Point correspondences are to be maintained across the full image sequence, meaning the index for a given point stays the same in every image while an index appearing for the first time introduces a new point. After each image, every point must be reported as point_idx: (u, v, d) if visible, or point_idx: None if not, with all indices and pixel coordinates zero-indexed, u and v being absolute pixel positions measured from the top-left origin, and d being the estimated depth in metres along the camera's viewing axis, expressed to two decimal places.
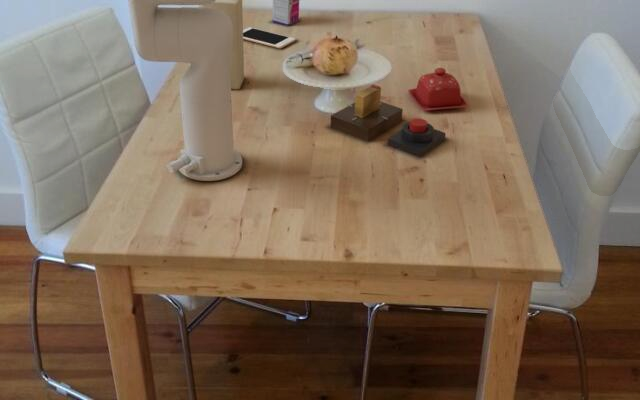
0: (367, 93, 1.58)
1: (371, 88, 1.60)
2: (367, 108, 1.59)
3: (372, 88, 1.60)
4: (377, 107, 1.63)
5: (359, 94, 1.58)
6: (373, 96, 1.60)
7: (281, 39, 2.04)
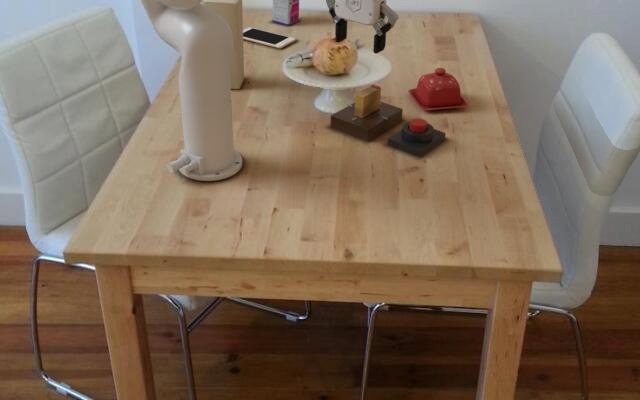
0: (367, 93, 1.58)
1: (371, 88, 1.60)
2: (367, 108, 1.59)
3: (372, 88, 1.60)
4: (377, 107, 1.63)
5: (359, 94, 1.58)
6: (373, 96, 1.60)
7: (281, 39, 2.04)
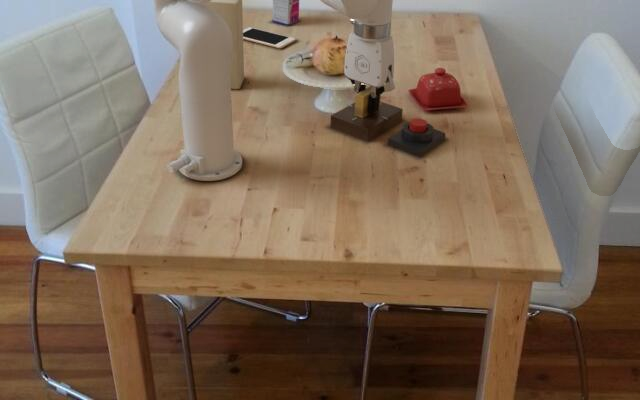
0: (367, 93, 1.58)
1: None
2: (367, 108, 1.59)
3: None
4: None
5: (359, 94, 1.58)
6: None
7: (281, 39, 2.04)
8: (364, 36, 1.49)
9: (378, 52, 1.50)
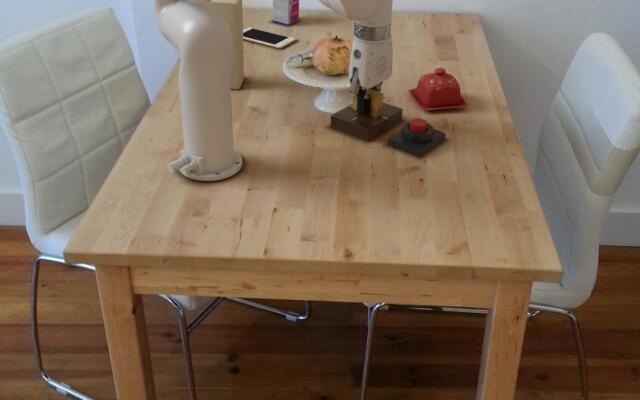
0: (373, 91, 1.59)
1: None
2: None
3: (362, 88, 1.60)
4: None
5: (378, 94, 1.58)
6: None
7: (281, 39, 2.04)
8: (388, 35, 1.51)
9: (390, 45, 1.55)
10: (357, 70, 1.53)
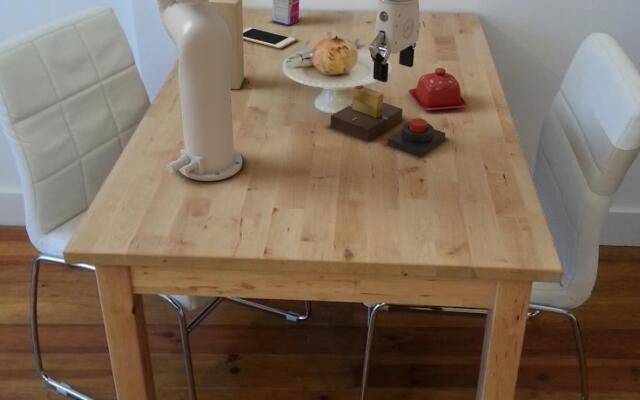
0: (373, 91, 1.59)
1: (362, 89, 1.60)
2: None
3: (362, 88, 1.60)
4: None
5: (378, 94, 1.58)
6: None
7: (281, 39, 2.04)
8: None
9: (417, 7, 1.47)
10: None
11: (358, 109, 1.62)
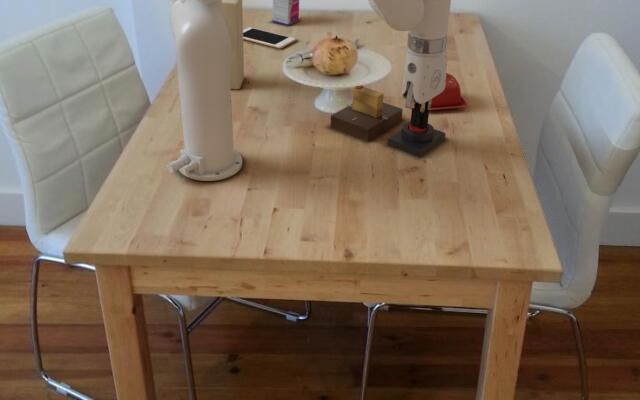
0: (373, 91, 1.59)
1: (362, 89, 1.60)
2: None
3: (362, 88, 1.60)
4: None
5: (378, 94, 1.58)
6: None
7: (281, 39, 2.04)
8: (444, 48, 1.44)
9: (444, 57, 1.48)
10: (411, 85, 1.46)
11: (358, 109, 1.62)
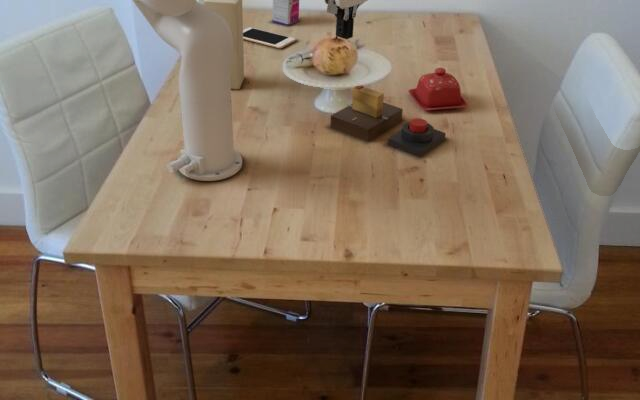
0: (373, 91, 1.59)
1: (362, 89, 1.60)
2: None
3: (362, 88, 1.60)
4: None
5: (378, 94, 1.58)
6: None
7: (281, 39, 2.04)
8: None
9: None
10: None
11: (358, 109, 1.62)
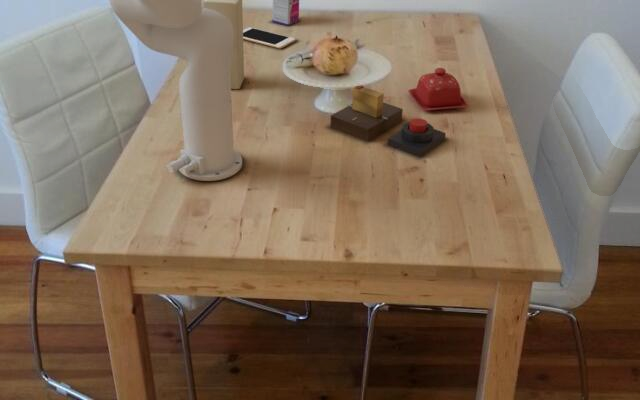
0: (373, 91, 1.59)
1: (362, 89, 1.60)
2: None
3: (362, 88, 1.60)
4: None
5: (378, 94, 1.58)
6: None
7: (281, 39, 2.04)
8: None
9: None
10: None
11: (358, 109, 1.62)
